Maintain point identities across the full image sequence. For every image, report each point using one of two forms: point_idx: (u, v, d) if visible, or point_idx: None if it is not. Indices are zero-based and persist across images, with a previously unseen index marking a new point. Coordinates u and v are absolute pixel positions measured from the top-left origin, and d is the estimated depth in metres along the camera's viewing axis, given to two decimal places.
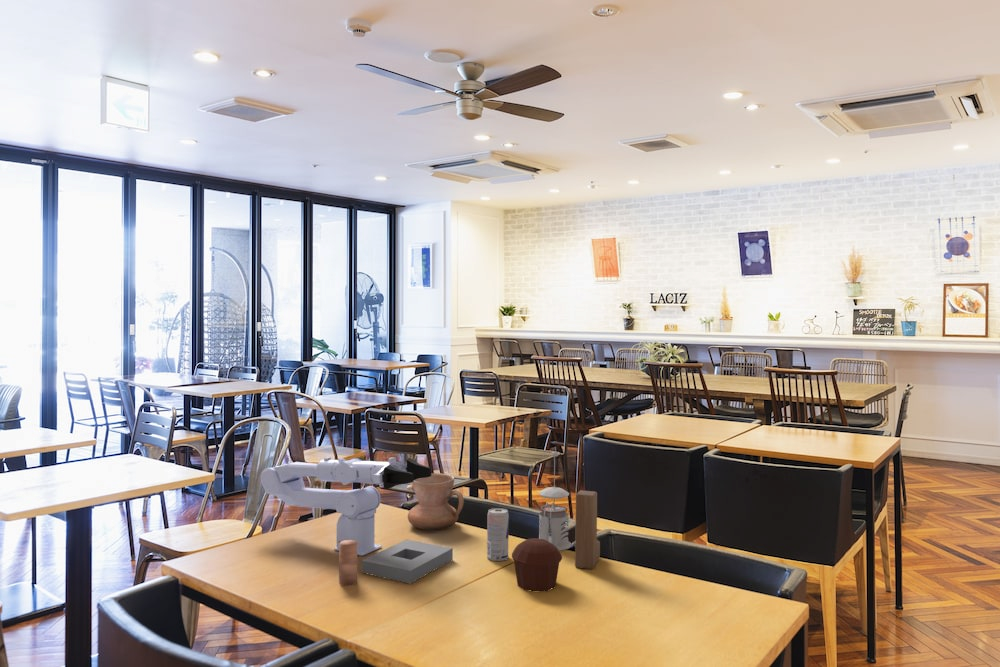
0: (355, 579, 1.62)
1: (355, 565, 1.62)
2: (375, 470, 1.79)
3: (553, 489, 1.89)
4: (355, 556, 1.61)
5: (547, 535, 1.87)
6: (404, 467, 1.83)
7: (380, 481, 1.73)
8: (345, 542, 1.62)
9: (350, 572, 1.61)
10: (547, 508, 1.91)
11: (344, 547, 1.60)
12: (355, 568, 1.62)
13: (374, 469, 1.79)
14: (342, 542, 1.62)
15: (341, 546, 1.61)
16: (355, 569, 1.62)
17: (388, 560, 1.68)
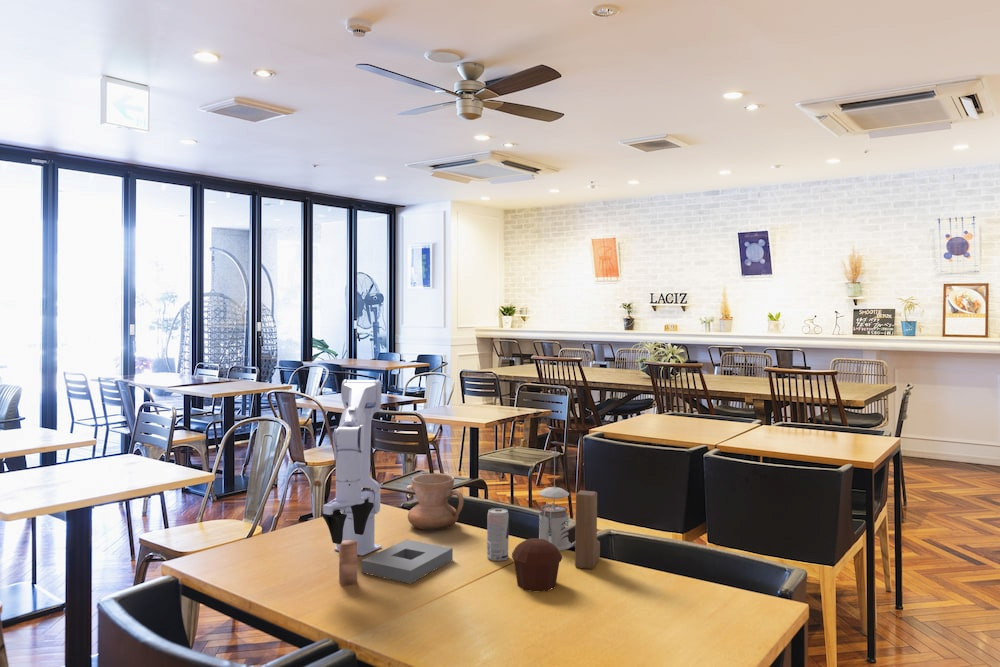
0: (355, 579, 1.62)
1: (355, 565, 1.62)
2: (344, 488, 1.59)
3: (553, 489, 1.89)
4: (355, 556, 1.61)
5: (547, 535, 1.87)
6: None
7: None
8: (345, 542, 1.62)
9: (350, 572, 1.61)
10: (547, 508, 1.91)
11: (344, 547, 1.60)
12: (355, 568, 1.62)
13: (345, 486, 1.59)
14: (342, 542, 1.62)
15: (341, 546, 1.61)
16: (355, 569, 1.62)
17: (388, 560, 1.68)
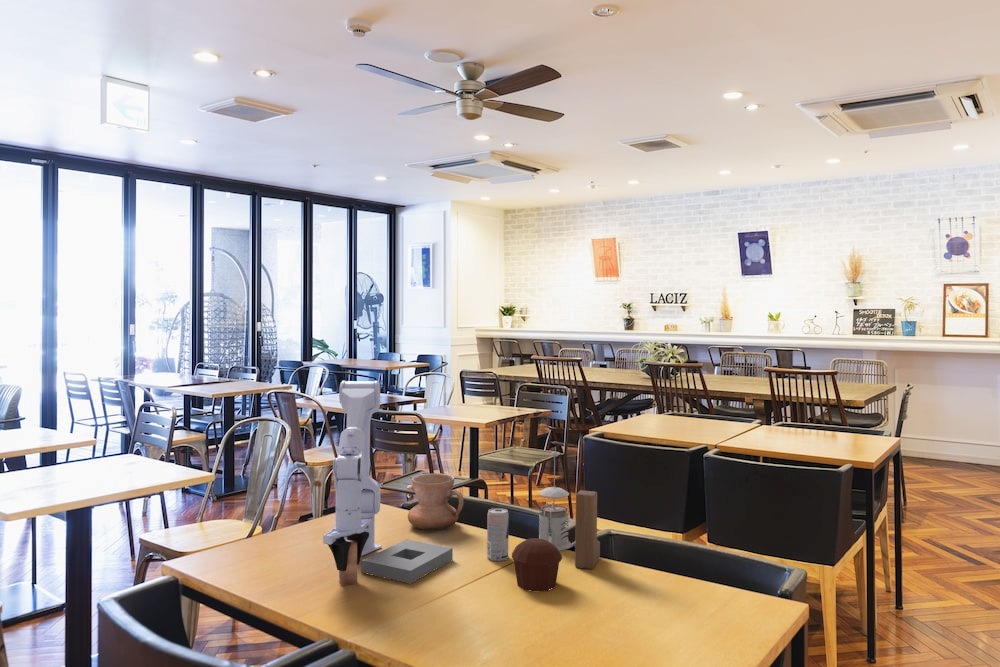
0: (355, 579, 1.62)
1: (355, 565, 1.62)
2: (344, 517, 1.59)
3: (553, 489, 1.89)
4: (355, 556, 1.61)
5: (547, 535, 1.87)
6: None
7: None
8: None
9: (350, 572, 1.61)
10: (547, 508, 1.91)
11: None
12: (355, 568, 1.62)
13: (345, 515, 1.59)
14: None
15: None
16: (355, 569, 1.62)
17: (388, 560, 1.68)
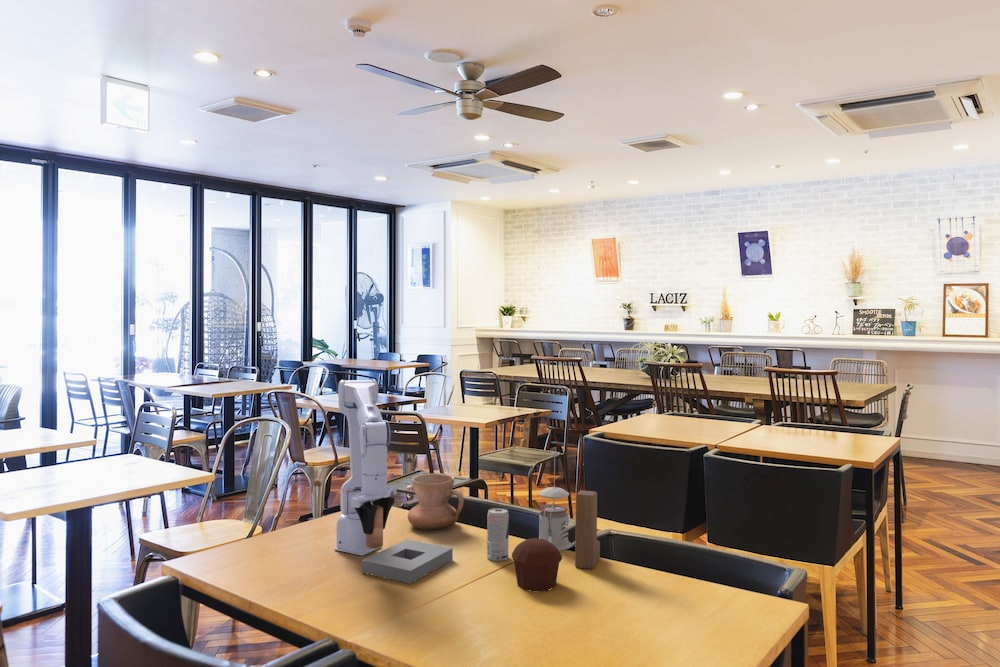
0: (381, 543, 1.66)
1: (381, 529, 1.66)
2: (371, 482, 1.63)
3: (553, 489, 1.89)
4: (381, 520, 1.66)
5: (547, 535, 1.87)
6: None
7: None
8: None
9: (376, 536, 1.65)
10: (547, 508, 1.91)
11: None
12: (381, 532, 1.66)
13: (372, 480, 1.63)
14: None
15: None
16: (381, 533, 1.66)
17: (388, 560, 1.68)
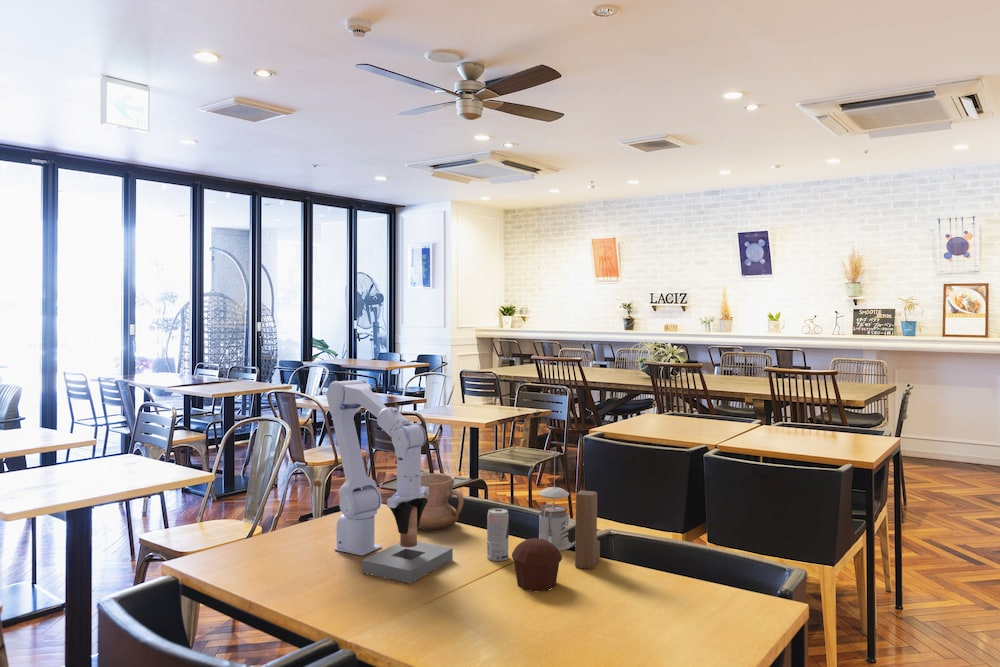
0: (415, 542, 1.72)
1: (415, 528, 1.72)
2: (406, 483, 1.69)
3: (553, 489, 1.89)
4: (415, 520, 1.72)
5: (547, 535, 1.87)
6: None
7: None
8: None
9: (411, 535, 1.71)
10: (547, 508, 1.91)
11: None
12: (415, 531, 1.72)
13: (407, 481, 1.69)
14: None
15: None
16: (416, 532, 1.72)
17: (388, 560, 1.68)
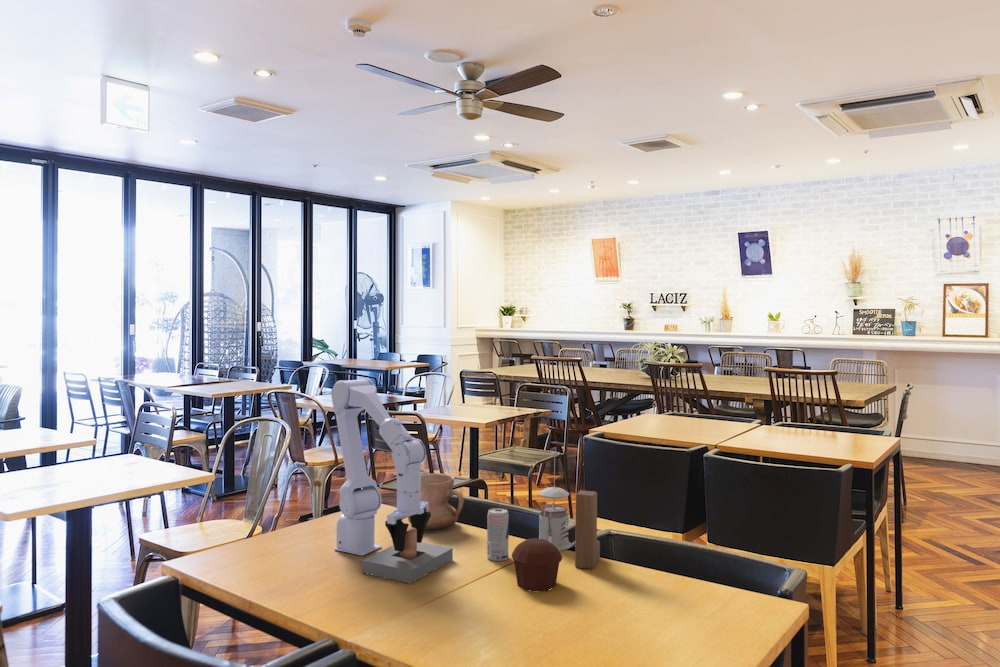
0: None
1: (415, 550, 1.72)
2: (406, 499, 1.70)
3: (553, 489, 1.89)
4: (415, 542, 1.72)
5: (547, 535, 1.87)
6: None
7: None
8: None
9: (411, 557, 1.71)
10: (547, 508, 1.91)
11: None
12: (415, 553, 1.72)
13: (407, 497, 1.70)
14: None
15: None
16: (415, 554, 1.72)
17: (388, 560, 1.68)
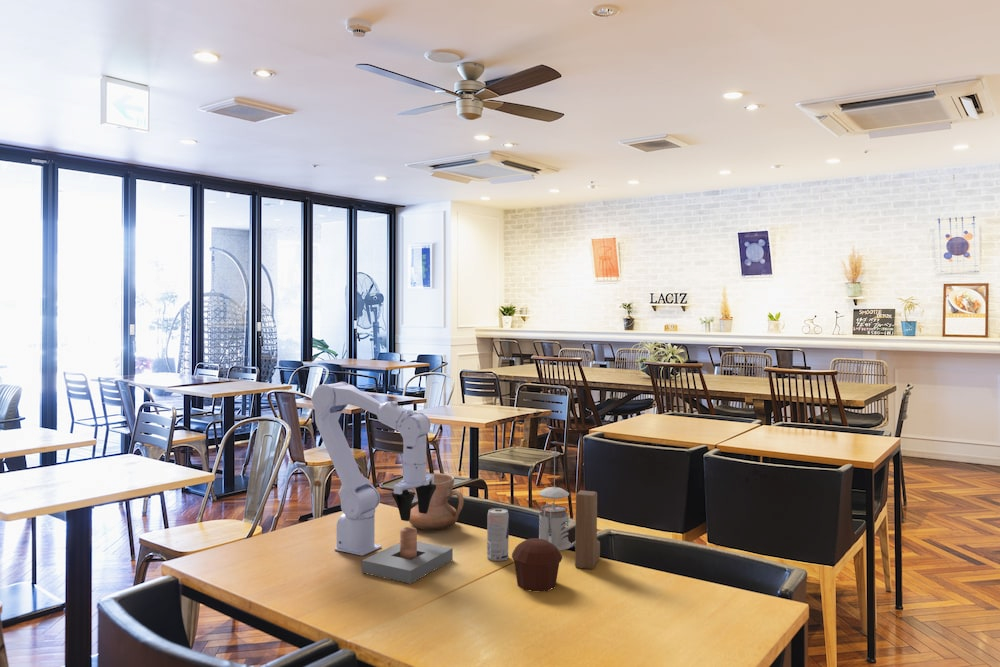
0: None
1: (415, 550, 1.72)
2: (412, 470, 1.76)
3: (553, 489, 1.89)
4: (415, 542, 1.72)
5: (547, 535, 1.87)
6: None
7: None
8: (405, 529, 1.73)
9: (411, 557, 1.71)
10: (547, 508, 1.91)
11: (405, 533, 1.71)
12: (415, 553, 1.72)
13: (413, 469, 1.76)
14: (402, 529, 1.72)
15: (402, 532, 1.71)
16: (415, 554, 1.72)
17: (388, 560, 1.68)
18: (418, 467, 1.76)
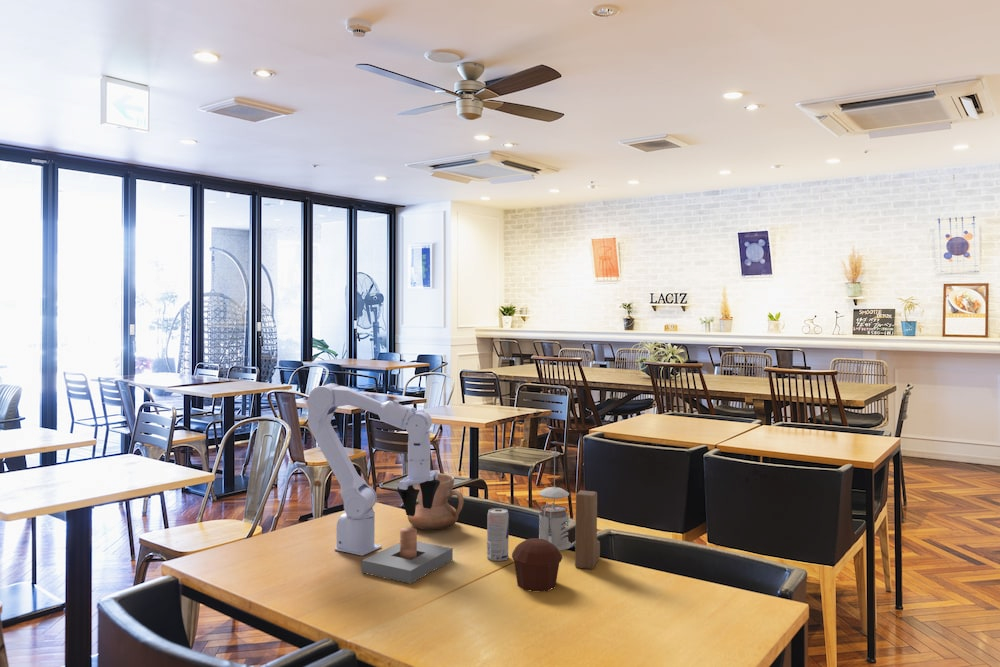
0: None
1: (415, 550, 1.72)
2: (416, 466, 1.80)
3: (553, 489, 1.89)
4: (415, 542, 1.72)
5: (547, 535, 1.87)
6: None
7: None
8: (405, 529, 1.73)
9: (411, 557, 1.71)
10: (547, 508, 1.91)
11: (405, 533, 1.71)
12: (415, 553, 1.72)
13: (417, 465, 1.80)
14: (402, 529, 1.72)
15: (402, 532, 1.71)
16: (415, 554, 1.72)
17: (388, 560, 1.68)
18: (422, 463, 1.80)
